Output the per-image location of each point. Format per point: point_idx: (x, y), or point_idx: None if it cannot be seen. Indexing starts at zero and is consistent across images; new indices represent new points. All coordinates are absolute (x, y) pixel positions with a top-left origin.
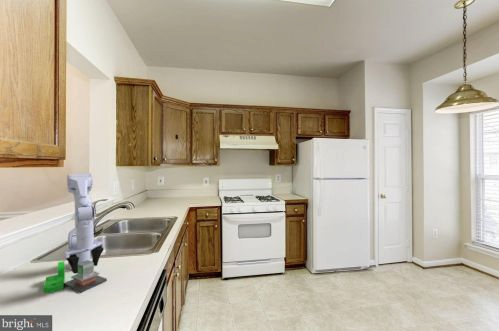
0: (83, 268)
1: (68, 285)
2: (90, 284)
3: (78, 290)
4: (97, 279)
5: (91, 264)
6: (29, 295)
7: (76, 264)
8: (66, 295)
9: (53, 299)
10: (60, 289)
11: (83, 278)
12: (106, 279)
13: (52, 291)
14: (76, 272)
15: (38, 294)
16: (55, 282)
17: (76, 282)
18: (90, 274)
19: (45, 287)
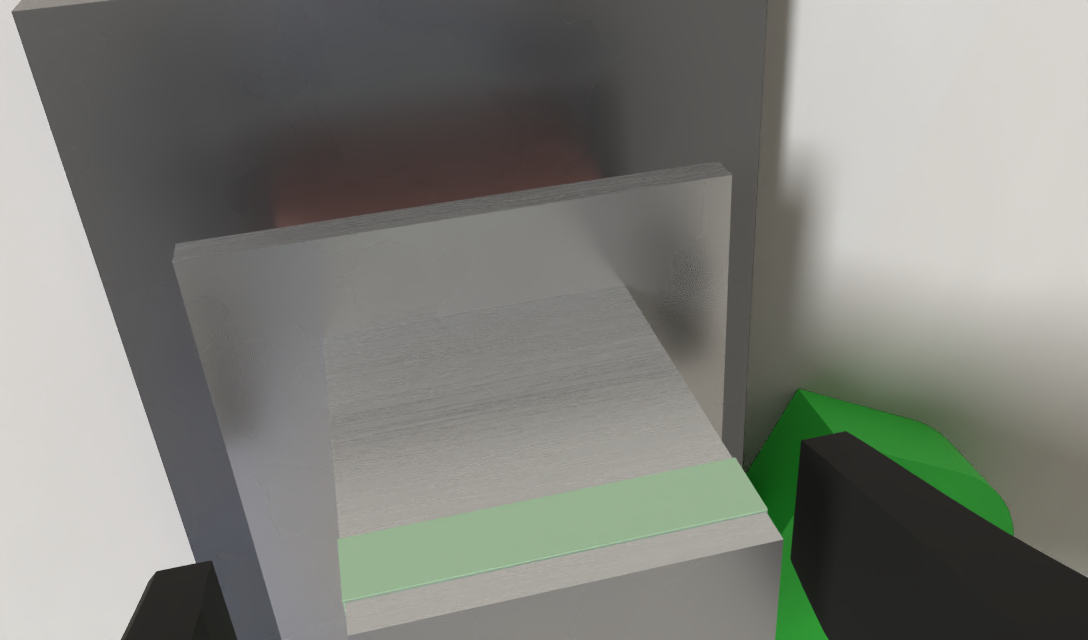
0: (724, 463)
1: (742, 408)
2: (484, 47)
3: (754, 26)
4: (238, 192)
5: (433, 551)
6: (1082, 544)
7: (1075, 621)
8: (917, 84)
9: (1084, 128)
10: (834, 405)
11: (632, 258)
12: (25, 6)
13: (923, 429)
14: (849, 448)
15: (1032, 491)
16: None
17: None
18: (424, 329)
19: None
